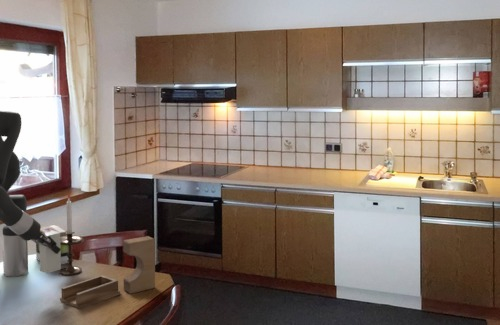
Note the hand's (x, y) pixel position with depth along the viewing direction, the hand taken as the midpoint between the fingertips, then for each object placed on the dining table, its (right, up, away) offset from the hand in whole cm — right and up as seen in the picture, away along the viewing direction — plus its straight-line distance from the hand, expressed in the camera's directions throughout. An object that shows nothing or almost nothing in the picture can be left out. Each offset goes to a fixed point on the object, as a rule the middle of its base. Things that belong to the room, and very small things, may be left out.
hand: (54, 250), depth 197 cm
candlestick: (-4, -14, +28) cm, 32 cm away
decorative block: (+29, -17, +11) cm, 36 cm away
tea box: (-17, -12, +42) cm, 47 cm away
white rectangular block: (-1, -7, -1) cm, 7 cm away
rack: (+13, -18, +2) cm, 22 cm away
